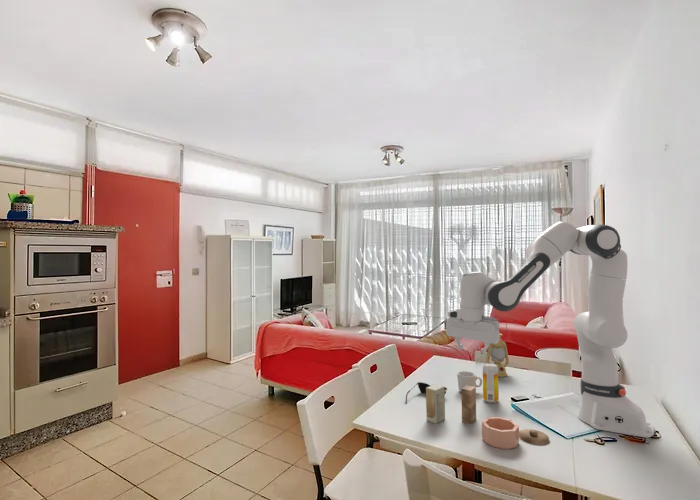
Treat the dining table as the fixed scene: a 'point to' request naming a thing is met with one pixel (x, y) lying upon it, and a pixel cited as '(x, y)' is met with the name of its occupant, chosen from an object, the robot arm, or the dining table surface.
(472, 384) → the cup
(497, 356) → the lantern
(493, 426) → the jar
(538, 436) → the jar lid
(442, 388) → the skincare box
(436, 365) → the dining table surface
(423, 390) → the sunglasses
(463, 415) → the brown wooden block
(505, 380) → the dining table surface
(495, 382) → the beer can
